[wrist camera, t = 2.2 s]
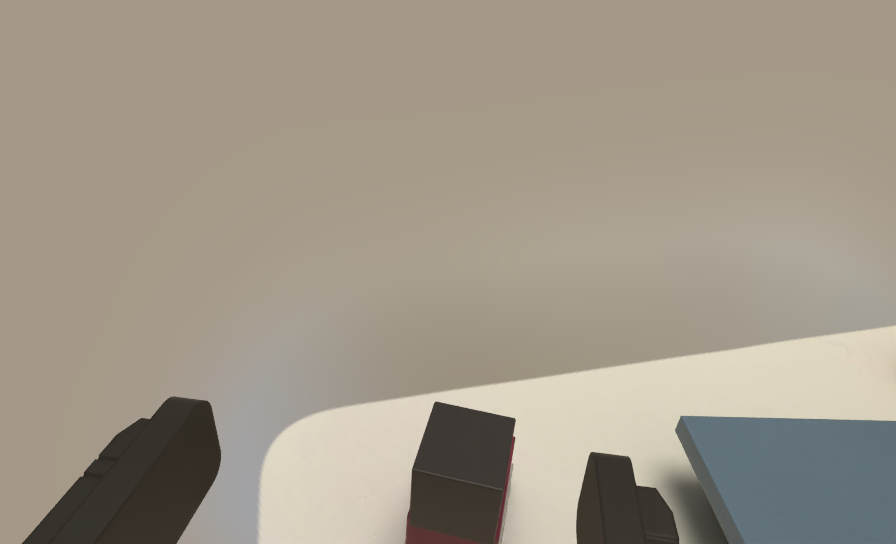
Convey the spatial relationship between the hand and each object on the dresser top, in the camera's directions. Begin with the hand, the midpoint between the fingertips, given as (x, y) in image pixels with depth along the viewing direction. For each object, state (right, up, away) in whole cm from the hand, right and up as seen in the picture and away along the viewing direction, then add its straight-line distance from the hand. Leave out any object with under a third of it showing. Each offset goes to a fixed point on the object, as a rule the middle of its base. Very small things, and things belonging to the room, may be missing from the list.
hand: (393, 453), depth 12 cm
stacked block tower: (+2, -10, +19) cm, 21 cm away
